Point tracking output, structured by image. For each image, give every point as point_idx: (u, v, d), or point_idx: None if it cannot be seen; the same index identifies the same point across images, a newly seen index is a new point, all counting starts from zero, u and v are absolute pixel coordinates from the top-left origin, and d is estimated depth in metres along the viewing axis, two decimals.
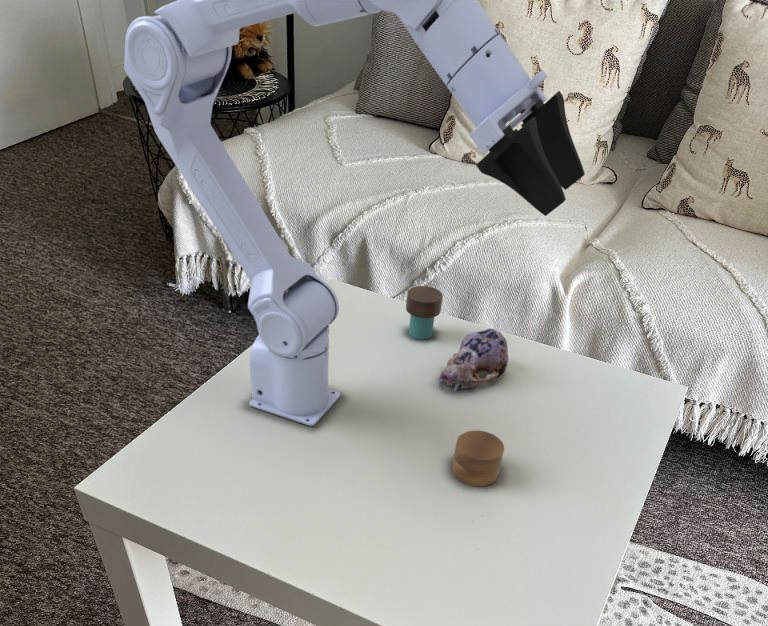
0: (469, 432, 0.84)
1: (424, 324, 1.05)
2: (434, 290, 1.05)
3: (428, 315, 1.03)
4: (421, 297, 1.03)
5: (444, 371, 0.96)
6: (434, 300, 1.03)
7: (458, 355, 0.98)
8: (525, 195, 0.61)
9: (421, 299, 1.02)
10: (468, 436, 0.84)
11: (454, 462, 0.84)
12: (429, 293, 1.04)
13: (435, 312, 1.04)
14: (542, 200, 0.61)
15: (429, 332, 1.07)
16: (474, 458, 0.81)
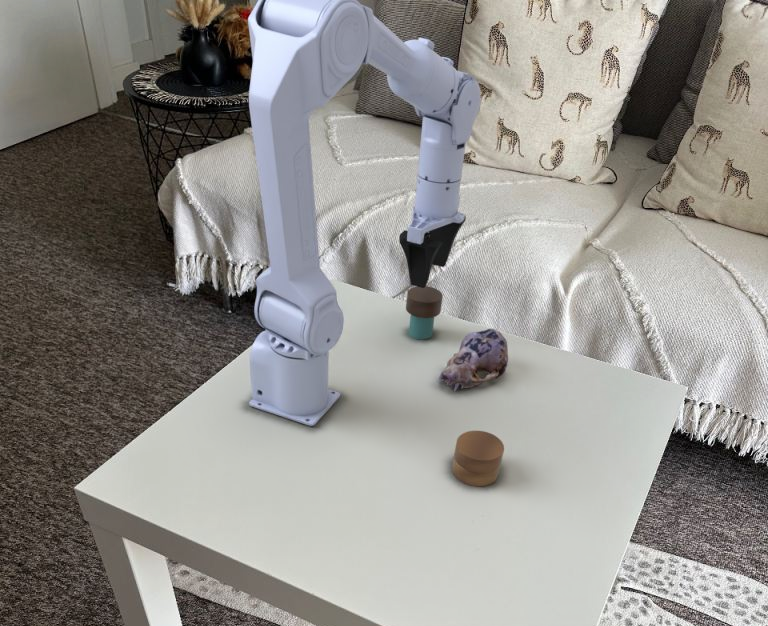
0: (469, 432, 0.84)
1: (424, 324, 1.05)
2: (434, 290, 1.05)
3: (428, 315, 1.03)
4: (421, 297, 1.03)
5: (444, 371, 0.96)
6: (434, 300, 1.03)
7: (458, 355, 0.98)
8: (410, 268, 0.97)
9: (421, 299, 1.02)
10: (468, 436, 0.84)
11: (454, 462, 0.84)
12: (429, 293, 1.04)
13: (435, 312, 1.04)
14: (415, 277, 0.98)
15: (429, 332, 1.07)
16: (474, 458, 0.81)
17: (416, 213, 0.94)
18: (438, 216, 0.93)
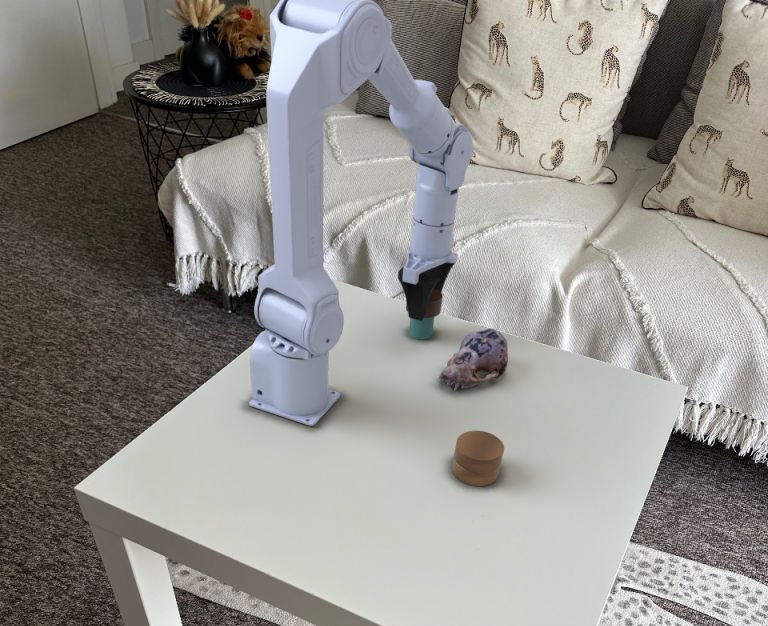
0: (469, 432, 0.84)
1: (424, 324, 1.05)
2: (434, 290, 1.05)
3: (428, 315, 1.03)
4: None
5: (444, 371, 0.96)
6: (434, 300, 1.03)
7: (458, 355, 0.98)
8: (408, 302, 1.02)
9: None
10: (468, 436, 0.84)
11: (454, 462, 0.84)
12: None
13: (435, 312, 1.04)
14: (413, 311, 1.02)
15: (429, 332, 1.07)
16: (474, 458, 0.81)
17: (411, 253, 0.98)
18: (432, 257, 0.97)
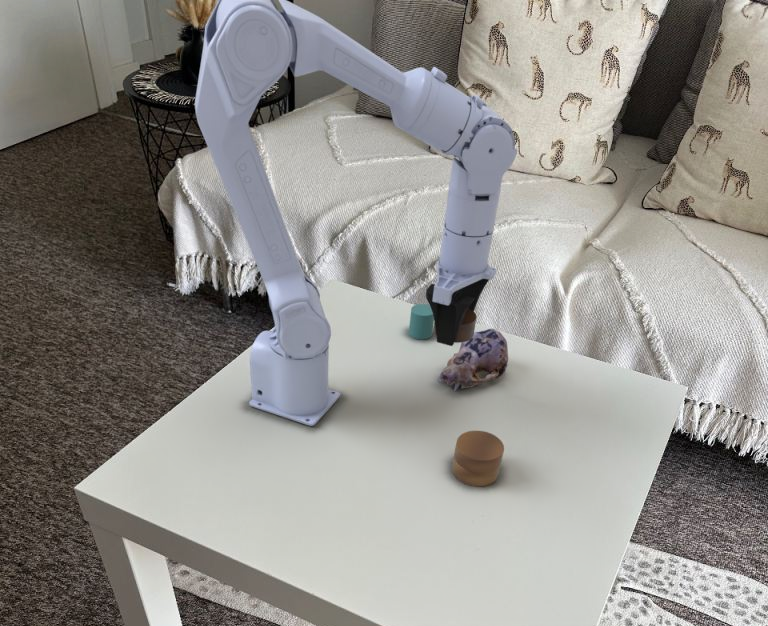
0: (469, 432, 0.84)
1: (424, 324, 1.05)
2: None
3: (460, 339, 0.88)
4: None
5: (444, 371, 0.96)
6: (467, 321, 0.88)
7: (458, 355, 0.98)
8: (437, 325, 0.87)
9: None
10: (468, 436, 0.84)
11: (454, 462, 0.84)
12: None
13: (468, 336, 0.89)
14: (442, 335, 0.88)
15: (429, 332, 1.07)
16: (474, 458, 0.81)
17: (442, 268, 0.83)
18: (467, 272, 0.82)
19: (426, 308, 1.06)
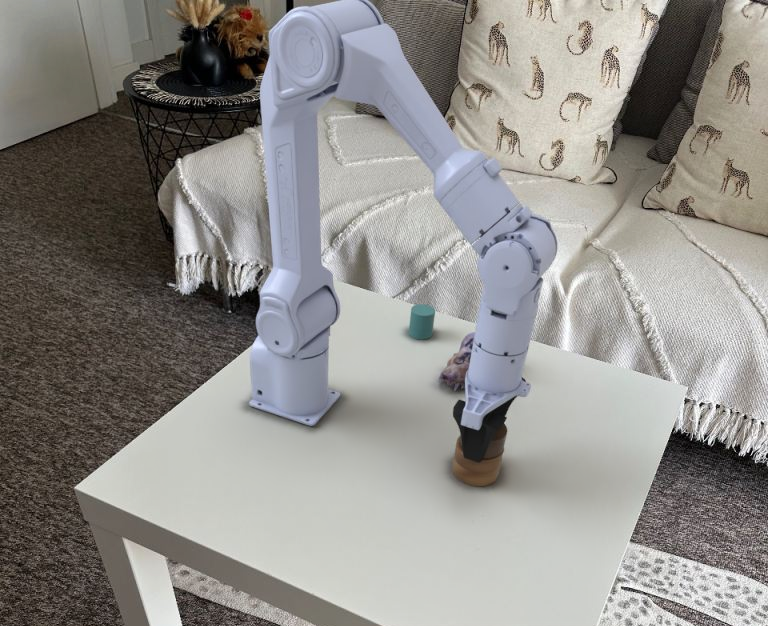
0: None
1: (424, 324, 1.05)
2: None
3: (489, 455, 0.80)
4: None
5: (444, 371, 0.96)
6: (497, 437, 0.80)
7: (458, 355, 0.98)
8: (464, 441, 0.79)
9: None
10: None
11: (454, 462, 0.84)
12: None
13: (498, 451, 0.81)
14: (470, 451, 0.80)
15: (429, 332, 1.07)
16: None
17: (471, 385, 0.75)
18: (499, 391, 0.74)
19: (426, 308, 1.06)
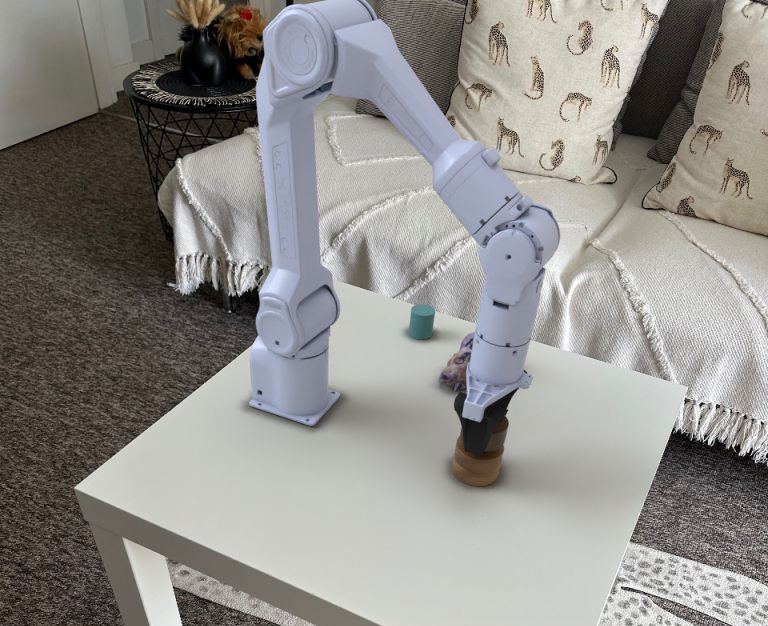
0: None
1: (424, 324, 1.05)
2: None
3: (490, 448, 0.80)
4: None
5: (444, 371, 0.96)
6: (499, 429, 0.79)
7: (458, 355, 0.98)
8: (465, 434, 0.78)
9: None
10: None
11: (454, 462, 0.84)
12: None
13: (499, 444, 0.80)
14: (471, 444, 0.79)
15: (429, 332, 1.07)
16: (474, 458, 0.81)
17: (472, 376, 0.74)
18: (501, 383, 0.73)
19: (426, 308, 1.06)
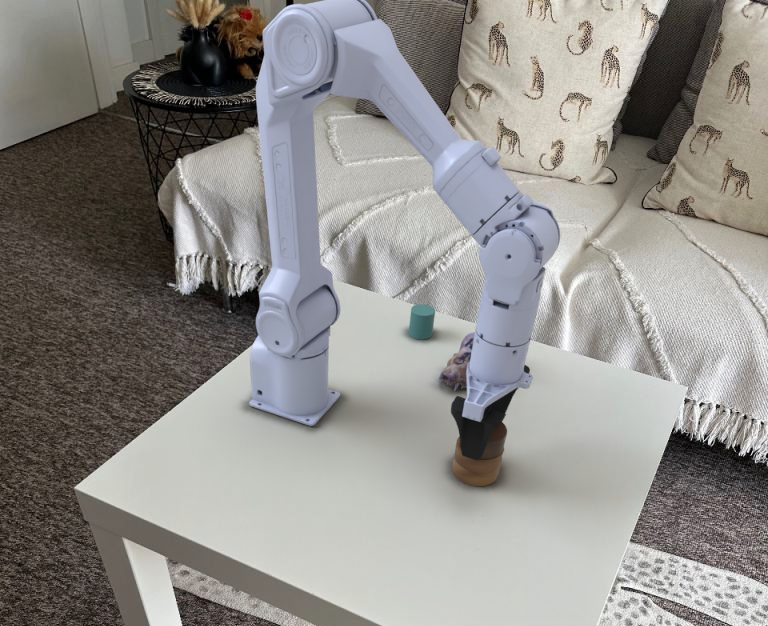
0: None
1: (424, 324, 1.05)
2: None
3: (489, 456, 0.80)
4: None
5: (444, 371, 0.96)
6: (497, 437, 0.80)
7: (458, 355, 0.98)
8: (462, 439, 0.77)
9: None
10: None
11: (454, 462, 0.84)
12: None
13: (498, 451, 0.81)
14: (468, 449, 0.78)
15: (429, 332, 1.07)
16: None
17: (472, 376, 0.74)
18: (501, 382, 0.73)
19: (426, 308, 1.06)
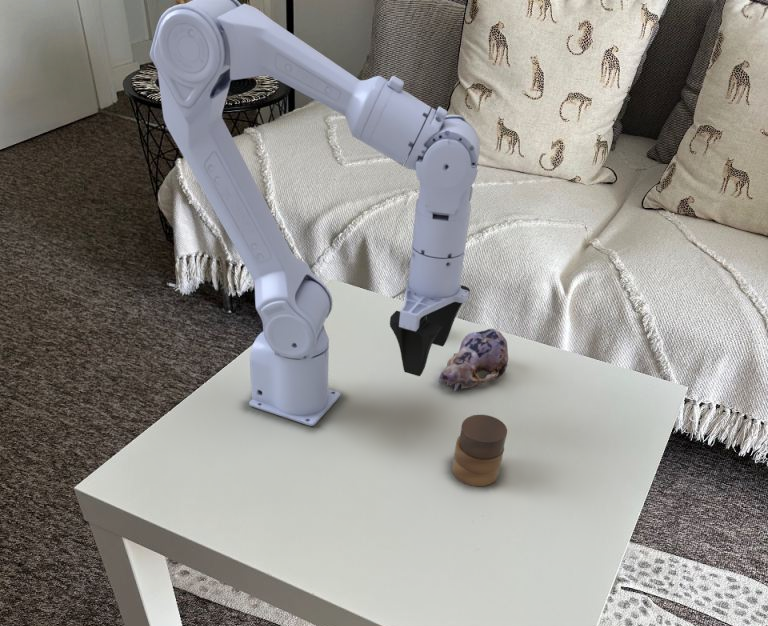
0: None
1: None
2: (495, 421, 0.82)
3: (489, 456, 0.80)
4: (480, 434, 0.80)
5: (444, 371, 0.96)
6: (497, 437, 0.80)
7: (458, 355, 0.98)
8: (403, 354, 0.81)
9: (481, 437, 0.79)
10: None
11: (454, 462, 0.84)
12: (490, 426, 0.81)
13: (498, 451, 0.81)
14: (409, 364, 0.82)
15: None
16: (474, 458, 0.81)
17: (410, 291, 0.78)
18: (437, 295, 0.77)
19: None
